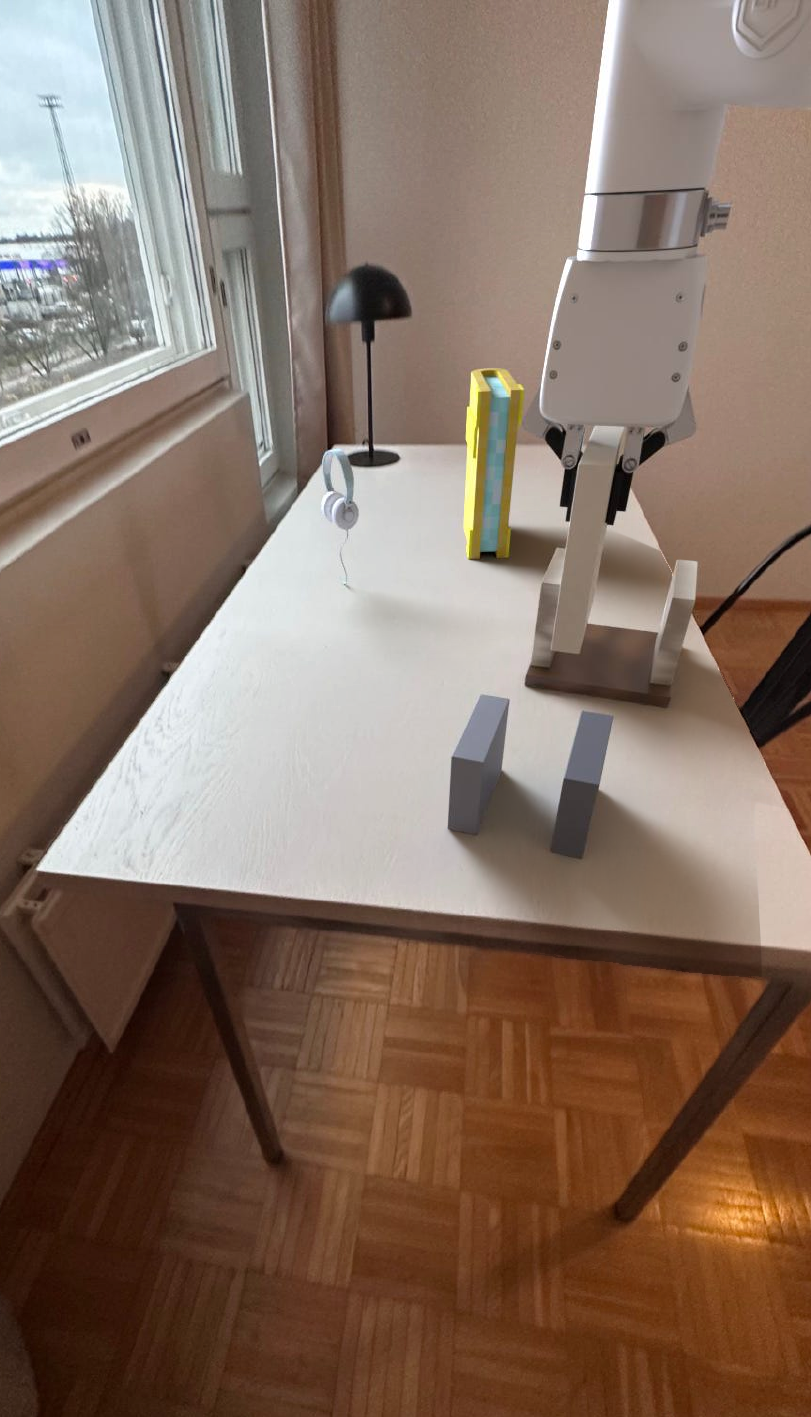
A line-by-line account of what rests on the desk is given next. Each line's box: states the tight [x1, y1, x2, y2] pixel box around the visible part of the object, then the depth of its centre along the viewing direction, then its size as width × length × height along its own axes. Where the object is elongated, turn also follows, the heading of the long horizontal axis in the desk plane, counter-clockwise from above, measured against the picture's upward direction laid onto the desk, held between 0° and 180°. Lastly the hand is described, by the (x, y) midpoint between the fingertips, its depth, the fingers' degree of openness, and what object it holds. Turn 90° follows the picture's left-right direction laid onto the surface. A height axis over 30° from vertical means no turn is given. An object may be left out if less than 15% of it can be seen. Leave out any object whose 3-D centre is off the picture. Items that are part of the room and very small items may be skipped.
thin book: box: [551, 426, 626, 654], centre depth 59 cm, size 2×11×15 cm, turn 160°
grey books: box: [447, 693, 614, 860], centre depth 69 cm, size 13×11×9 cm
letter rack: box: [524, 547, 699, 709], centre depth 88 cm, size 17×16×12 cm
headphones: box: [320, 448, 360, 585], centre depth 108 cm, size 8×4×20 cm, turn 27°
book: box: [462, 367, 525, 560], centre depth 118 cm, size 17×7×25 cm, turn 179°
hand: (591, 515), depth 58 cm, fingers closed on thin book, 2 cm apart
